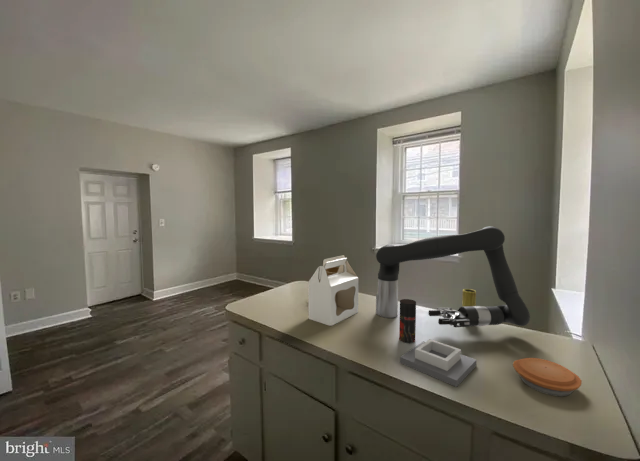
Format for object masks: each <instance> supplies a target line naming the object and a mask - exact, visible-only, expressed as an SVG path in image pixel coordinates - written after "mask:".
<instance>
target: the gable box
mask: <svg viewBox="0 0 640 461" xmlns="http://www.w3.org/2000/svg"><path fill="white" fill-rule="evenodd" d="M347 259H348V257H345V255H343V254H342V255H337V256H332V257H327V258H324V259H322V263H321V265H320V266H318V267H317V268H316V269H315V272H314V273H313V275H312V276H311V278H309V280H308V282H307V285H308V287H307V288H308V295H307V297H308V320H311V321H314V322H317V323H320V324H323V325H327V326H329V327H332V326H334V325H335V324H338V323H340V322H342V321H344V320H346V319H348V318H350V317H351V316H353V315H356V314H357V313H359V276H358V275H357V273H356V271H355V270H354V269H353V267H352V266H351V264H350V262H349V261H348V260H347ZM332 267H339V270H338V272H337V273H336V274H333V275H329V276H327V272H326V269H328V268H332Z"/></svg>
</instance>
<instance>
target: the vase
mask: <svg viewBox="0 0 640 461" xmlns="http://www.w3.org/2000/svg"><path fill="white" fill-rule="evenodd" d="M461 299H462V300H461V307H462V306H477V291H476V290H475V289H472V288H463V289H462V298H461Z"/></svg>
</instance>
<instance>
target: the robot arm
mask: <svg viewBox="0 0 640 461" xmlns="http://www.w3.org/2000/svg"><path fill="white" fill-rule="evenodd" d="M505 239H506V238H505V234H504V232H503V231H502V230H501V229H499V228H498V227H496V226H492V225H489V226H484V227H483V228H481V229H478V230H475V231H471V232H467V233H459V234H443V235H437V236H431V237H425V238H422V239H419V240H416V241H412V242H409V243H405V244H400V245H394V244H386V245H383V246H381V247H380V248H379V249H378V250H377V252H376V255H375V258H376V261H377V262H378V263H379V270H378V273H377V293H376V294H375V314H376V315H378V316H379V317H382V318H387V319H393V318H396V317H398V307H399V306H398V305H399V304H398V303H399V275H400V264H401V263H404V262H408V261H409V262H410V261H421V260H431V259H438V258H445V257H451V256H454V255H458V254H462V253H466V252H467V253H468V252H474V251H475V252H476V251H484V254H485V256H486V258H487V261H488V264H489V268H490V272H491V276H492V280H493V285H494V287H495V290H496V294H497V296H498V299H499V300H500V301H502V302H503V303H505V304H501V305H496V306H489V305H488V306H482V305H476V306H462V305H461V306H460V307H459V309H458V310H456V309H453V308H452V307H436V309H429V310H428V316H430V317H438V325H440V326H443V325H444V326H445V325H447V326H453V328H469V327H484V326H497V325H502V324H503V323H508V324H512V325H515V326H518V327H519V326H520V327H524V326H527V325H528V324H529V323H530V321H531V320H530V319H531V315H530V314H531V313H530V311H529V308H528V307H527V305H526V303H525V302H524V300H523V298H522V297H521V296H520V294H519V291H518V288H517V285H516V281H515V279H514V276H513V273H512V271H511V269H510V266H509V264H508V262H507V258H506V256H505V252H504V251H505V250H504V243H505ZM441 317H442V318H441Z"/></svg>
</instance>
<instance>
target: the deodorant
mask: <svg viewBox="0 0 640 461" xmlns="http://www.w3.org/2000/svg"><path fill="white" fill-rule="evenodd" d="M416 320H417V301H415V300H414V299H408V298H402V299H400V300H399V332H398V333H399V335H398V337H399V341H400V342H401V343H404V344H405V343H406V344H414V343H415V342H416V331H417V330H416V324H417V323H416V322H417V321H416Z"/></svg>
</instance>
